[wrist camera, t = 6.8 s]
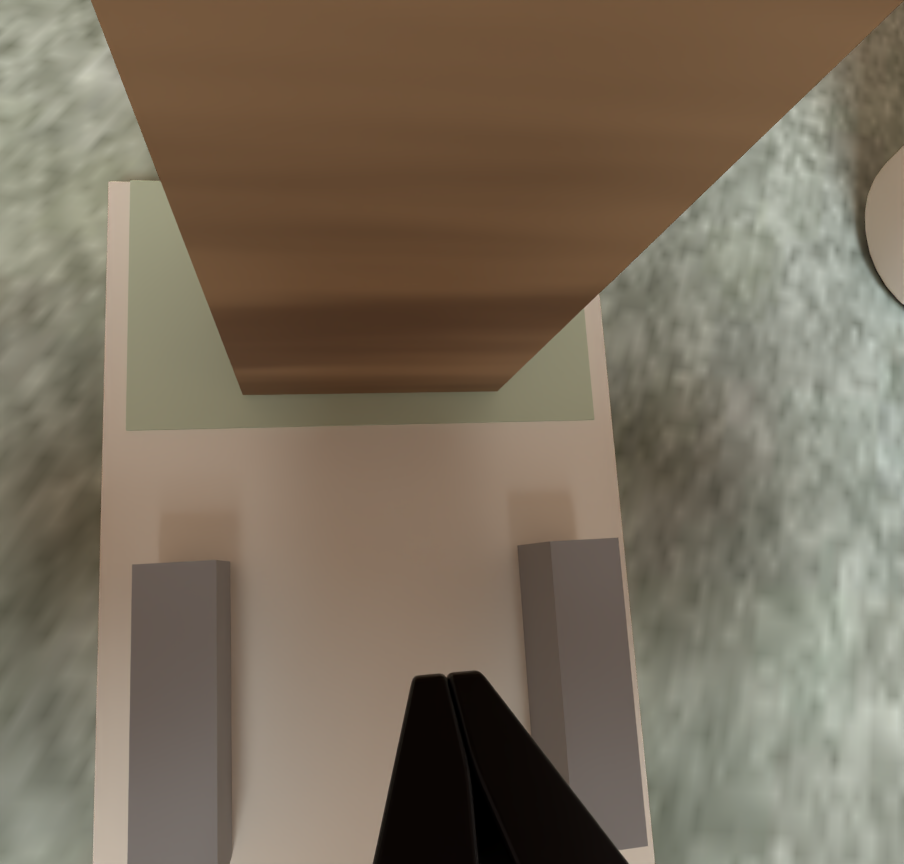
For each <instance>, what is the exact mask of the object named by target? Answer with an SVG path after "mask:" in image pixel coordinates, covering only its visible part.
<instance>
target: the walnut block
mask: <svg viewBox="0 0 904 864" xmlns="http://www.w3.org/2000/svg"><path fill="white" fill-rule="evenodd" d="M903 1H904V0H91V2H92V4H93V7H94V9H95V12H96V15H97V17H98V20H99V22H100V25H101V28H102V30H103V33H104V35H105V38H106V41H107V43H108V46H109V48H110V51H111V54H112V56H113V59H114V61H115V64H116V67H117V69H118V72H119V74H120V77H121V80H122V82H123V85H124V87H125V90H126V93H127V95H128V98H129V100H130V103H131V106H132V108H133V111H134V113H135V116H136V119H137V121H138V124H139V126H140V129H141V132H142V134H143V137H144V139H145V142H146V145H147V147H148V150H149V152H150V155H151V158H152V160H153V163H154V165H155V168H156V171H157V173H158V176H159V178H160V181H161V184H162V186H163V189H164V191H165V194H166V197H167V199H168V202H169V204H170V207H171V210H172V212H173V215H174V217H175V220H176V223H177V225H178V228H179V230H180V233H181V236H182V238H183V241H184V243H185V246H186V249H187V251H188V254H189V256H190V259H191V262H192V264H193V267H194V269H195V272H196V275H197V277H198V280H199V282H200V285H201V288H202V290H203V293H204V295H205V298H206V301H207V303H208V306H209V308H210V311H211V314H212V316H213V319H214V321H215V324H216V327H217V329H218V332H219V334H220V337H221V340H222V342H223V345H224V347H225V350H226V353H227V355H228V358H229V360H230V363H231V366H232V368H233V371H234V373H235V376H236V379H237V381H238V384H239V386H240V389H241V392H242V394H243V395H282V394H351V393H419V392H488V391H498V390H499V389H500V388H501V387H502V386H503V385H504V384H506V383H507V382H508V381H509V380H510V379H511V378H512V377H513V376H514V375H515V374H516V373H517V372H518V371H519V370H520V369H521V368H522V367H523V366H524V365H525V364H526V363H527V362H528V361H529V360H530V359H532V358H533V357H534V356H535V355H536V354H537V353H538V352H539V351H540V350H541V349H542V348H543V347H544V346H545V345H546V344H547V343H548V342H549V341H550V340H551V339H552V338H553V337H554V336H555V335H556V334H558V333H559V332H560V331H561V330H562V329H563V328H564V327H565V326H566V325H567V324H568V323H569V322H570V321H571V320H572V319H573V318H574V317H575V316H576V315H577V314H578V313H579V312H580V311H581V310H582V309H584V308H585V307H586V306H587V305H588V304H589V303H590V302H591V301H592V300H593V299H594V298H595V297H596V296H597V295H598V294H599V293H600V292H601V291H602V290H603V289H604V288H605V287H606V286H607V285H608V284H610V283H611V282H612V281H613V280H614V279H615V278H616V277H617V276H618V275H619V274H620V273H621V272H622V271H623V270H624V269H625V268H626V267H627V266H628V265H629V264H630V263H631V262H632V261H633V260H634V259H636V258H637V257H638V256H639V255H640V254H641V253H642V252H643V251H644V250H645V249H646V248H647V247H648V246H649V245H650V244H651V243H652V242H653V241H654V240H655V239H656V238H657V237H658V236H659V235H660V234H662V233H663V232H664V231H665V230H666V229H667V228H668V227H669V226H670V225H671V224H672V223H673V222H674V221H675V220H676V219H677V218H678V217H679V216H680V215H681V214H682V213H683V212H684V211H685V210H686V209H688V208H689V207H690V206H691V205H692V204H693V203H694V202H695V201H696V200H697V199H698V198H699V197H700V196H701V195H702V194H703V193H704V192H705V191H706V190H707V189H708V188H709V187H710V186H711V185H712V184H714V183H715V182H716V181H717V180H718V179H719V178H720V177H721V176H722V175H723V174H724V173H725V172H726V171H727V170H728V169H729V168H730V167H731V166H732V165H733V164H734V163H735V162H736V161H737V160H738V159H740V158H741V157H742V156H743V155H744V154H745V153H746V152H747V151H748V150H749V149H750V148H751V147H752V146H753V145H754V144H755V143H756V142H757V141H758V140H759V139H760V138H761V137H762V136H763V135H764V134H766V133H767V132H768V131H769V130H770V129H771V128H772V127H773V126H774V125H775V124H776V123H777V122H778V121H779V120H780V119H781V118H782V117H783V116H784V115H785V114H786V113H787V112H788V111H789V110H790V109H792V108H793V107H794V106H795V105H796V104H797V103H798V102H799V101H800V100H801V99H802V98H803V97H804V96H805V95H806V94H807V93H808V92H809V91H810V90H811V89H812V88H813V87H814V86H815V85H817V84H818V83H819V82H820V81H821V80H822V79H823V78H824V77H825V76H826V75H827V74H828V73H829V72H830V71H831V70H832V69H833V68H834V67H835V66H836V65H837V64H838V63H839V62H840V61H841V60H843V59H844V58H845V57H846V56H847V55H848V54H849V53H850V52H851V51H852V50H853V49H854V48H855V47H856V46H857V45H858V44H859V43H860V42H861V41H862V40H863V39H864V38H865V37H866V36H867V35H869V34H870V33H871V32H872V31H873V30H874V29H875V28H876V27H877V26H878V25H879V24H880V23H881V22H882V21H883V20H884V19H885V18H886V17H887V16H888V15H889V14H890V13H891V12H892V11H893V10H895V9H896V8H897V7H898V6H899V5H900V4H901V3H902V2H903Z"/></svg>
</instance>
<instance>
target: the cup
mask: <svg viewBox="0 0 904 864" xmlns="http://www.w3.org/2000/svg"><path fill="white" fill-rule="evenodd" d="M865 231H866V237H867V242H868V247H869V252H870V255H871V258H872V260H873V263H874V265H875V268H876V270H877V272H878V274H879V275H880V277H881V279H882V280H883V282H884V284H885V285H886V286H887V288H888V289H889V290H890V291H891V292H892V294H893V295H894V296H895V297H896V298H897V300H899V301H900V302H901V303H902V304H903V305H904V145H903V147H902V148H901V149H900V150H899V151H898V152H897V153H896V154H895V155H894V156H893V157H892V158H891V159H890V160H889V161H888V162H887V163H886V164H885V165H884V166H883V167H882V169H881V170H880V172H879V173H878V174H877V176H876V177H875V179H874V181H873V184H872V186H871V188H870V191H869V193H868V197H867V203H866V209H865Z"/></svg>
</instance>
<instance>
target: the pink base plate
mask: <svg viewBox="0 0 904 864" xmlns="http://www.w3.org/2000/svg"><path fill="white" fill-rule="evenodd" d="M471 670H476V671H479V672H481V673H482V674H483V675H484V676H485V677H486V678H487V680H488V681H489V682H490V684H491V685H492V686H493V687H494V689H495V690H496V691H497V693H498V694H499V695H500V697H501V698H502V699H503V700H504V702H505V703H506V704H507V706H508V707H509V708H510V710H511V711H512V712H513V713H514V715H515V716H516V717H517V719H518V720H519V721H520V723H521V724H522V725H523V726H524V728H525V729H526V730H527V732H528V733H529V734H530V736H531V737H532V738H533V739H534V741H535V742H536V743H537V745H538V746H539V747H540V749H541V750H542V751H543V752H544V754H545V755H546V756H547V758H548V759H549V760H550V762H551V763H552V764H553V765H554V767H555V768H556V769H557V771H558V772H559V773H560V775H561V776H562V777H563V778H564V780H565V781H566V782H567V784H568V785H569V786H570V788H571V789H572V790H573V791H574V793H575V794H576V795H577V797H578V798H579V799H580V801H581V802H582V803H583V804H584V806H585V807H586V808H587V810H588V811H589V812H590V814H591V815H592V816H593V817H594V819H595V820H596V821H597V823H598V824H599V825H600V827H601V828H602V829H603V830H604V832H605V833H606V834H607V836H608V837H609V838H610V840H611V841H612V842H613V843H614V845H615V846H616V847H617V849H618V850H619V851H620V853H621V854H622V855H623V856H624V858H625V859H626V860H627V862H628V863H629V864H655V858H654V848H653V838H652V828H651V817H650V807H649V797H648V787H647V776H646V766H645V756H644V746H643V735H642V725H641V715H640V705H639V694H638V684H637V674H636V664H635V653H634V643H633V633H632V623H631V612H630V602H629V592H628V582H627V571H626V561H625V551H624V541H623V530H622V520H621V510H620V500H619V489H618V479H617V469H616V459H615V448H614V438H613V428H612V418H611V407H610V397H609V387H608V377H607V366H606V356H605V346H604V336H603V325H602V315H601V305H600V295H599V294H598V295H597V296H596V297H595V298H594V299H593V300H592V301H591V302H590V303H589V304H588V305H587V306H586V307H585V308H584V309H582V310H581V311H580V312H579V313H578V314H577V315H576V316H575V317H574V318H573V319H572V320H571V321H570V322H569V323H568V324H567V325H566V326H565V327H564V328H563V329H562V330H561V331H560V332H559V333H558V334H556V335H555V336H554V337H553V338H552V339H551V340H550V341H549V342H548V343H547V344H546V345H545V346H544V347H543V348H542V349H541V350H540V351H539V352H538V353H537V354H536V355H535V356H534V357H533V358H532V359H530V360H529V361H528V362H527V363H526V364H525V365H524V366H523V367H522V368H521V369H520V370H519V371H518V372H517V373H516V374H515V375H514V376H513V377H512V378H511V379H510V380H509V381H508V382H507V383H506V384H504V385H503V386H502V387H501V388H500V389H499V390H498V391H488V392H419V393H351V394H282V395H243V394H242V392H241V389H240V386H239V384H238V381H237V379H236V376H235V373H234V371H233V368H232V366H231V363H230V360H229V358H228V355H227V353H226V350H225V347H224V345H223V342H222V340H221V337H220V334H219V332H218V329H217V327H216V324H215V321H214V319H213V316H212V314H211V311H210V308H209V306H208V303H207V301H206V298H205V295H204V293H203V290H202V288H201V285H200V282H199V280H198V277H197V275H196V272H195V269H194V267H193V264H192V262H191V259H190V256H189V254H188V251H187V249H186V246H185V243H184V241H183V238H182V236H181V233H180V230H179V228H178V225H177V223H176V220H175V217H174V215H173V212H172V210H171V207H170V204H169V202H168V199H167V197H166V194H165V191H164V189H163V186H162V184H161V181H149V180H130V182H120V181H109V188H108V231H107V274H106V317H105V360H104V403H103V446H102V489H101V532H100V575H99V618H98V661H97V704H96V747H95V790H94V833H93V864H373V860H374V855H375V850H376V846H377V841H378V836H379V832H380V827H381V822H382V817H383V813H384V808H385V803H386V799H387V794H388V789H389V785H390V780H391V775H392V770H393V766H394V761H395V756H396V752H397V747H398V742H399V738H400V733H401V728H402V723H403V719H404V714H405V709H406V705H407V700H408V695H409V691H410V686H411V682H412V679H413V678H414V677H415V676H417V675H426V674H437V673H441V674H444V675H445V676H446V677H447V675H448V674H449V673H451V672H460V671H471Z"/></svg>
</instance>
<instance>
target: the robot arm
mask: <svg viewBox="0 0 904 864" xmlns="http://www.w3.org/2000/svg"><path fill="white" fill-rule="evenodd" d="M373 864H629V863H628V862H627V860H626V859H625V858H624V856H623V855H622V854H621V853H620V851H619V850H618V849H617V847H616V846H615V845H614V843H613V842H612V841H611V840H610V838H609V837H608V836H607V834H606V833H605V832H604V830H603V829H602V828H601V827H600V825H599V824H598V823H597V821H596V820H595V819H594V817H593V816H592V815H591V814H590V812H589V811H588V810H587V808H586V807H585V806H584V804H583V803H582V802H581V801H580V799H579V798H578V797H577V795H576V794H575V793H574V791H573V790H572V789H571V788H570V786H569V785H568V784H567V782H566V781H565V780H564V778H563V777H562V776H561V775H560V773H559V772H558V771H557V769H556V768H555V767H554V765H553V764H552V763H551V762H550V760H549V759H548V758H547V756H546V755H545V754H544V752H543V751H542V750H541V749H540V747H539V746H538V745H537V743H536V742H535V741H534V739H533V738H532V737H531V736H530V734H529V733H528V732H527V730H526V729H525V728H524V726H523V725H522V724H521V723H520V721H519V720H518V719H517V717H516V716H515V715H514V713H513V712H512V711H511V710H510V708H509V707H508V706H507V704H506V703H505V702H504V700H503V699H502V698H501V697H500V695H499V694H498V693H497V691H496V690H495V689H494V687H493V686H492V685H491V684H490V682H489V681H488V680H487V678H486V677H485V676H484V675H483V674H482V673H481V672H479V671H476V670H471V671H460V672H451V673H449V674H448V675H447V677H446V676H445V675H444V674H441V673H437V674H426V675H417V676H415V677H414V678H413V679H412V682H411V686H410V691H409V695H408V700H407V705H406V709H405V714H404V719H403V723H402V728H401V733H400V738H399V742H398V747H397V752H396V756H395V761H394V766H393V770H392V775H391V780H390V785H389V789H388V794H387V799H386V803H385V808H384V813H383V817H382V822H381V827H380V832H379V836H378V841H377V846H376V850H375V855H374V860H373Z"/></svg>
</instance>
